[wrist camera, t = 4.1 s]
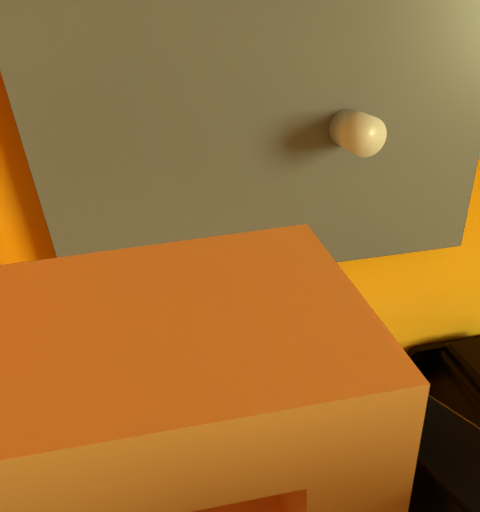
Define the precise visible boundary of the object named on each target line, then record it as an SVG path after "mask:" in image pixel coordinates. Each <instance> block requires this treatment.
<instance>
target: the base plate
mask: <svg viewBox="0 0 480 512" xmlns="http://www.w3.org/2000/svg"><path fill="white" fill-rule="evenodd" d="M0 72H1V75H2V79H3V82H4V85H5V88H6V92H7V95H8V98H9V102H10V105H11V108H12V112H13V115H14V118H15V121H16V125H17V128H18V131H19V135H20V138H21V141H22V144H23V148H24V151H25V154H26V158H27V161H28V164H29V168H30V171H31V174H32V177H33V181H34V184H35V187H36V191H37V194H38V197H39V200H40V204H41V207H42V210H43V214H44V217H45V220H46V224H47V227H48V230H49V233H50V237H51V240H52V243H53V247H54V250H55V253H56V256H57V258H58V257H65V256H72V255H80V254H87V253H95V252H102V251H110V250H117V249H124V248H132V247H139V246H147V245H154V244H162V243H169V242H176V241H184V240H191V239H199V238H206V237H213V236H221V235H228V234H236V233H243V232H251V231H258V230H265V229H273V228H280V227H288V226H295V225H303V224H307V225H308V226H309V227H310V229H311V230H312V231H313V233H314V234H315V235H316V236H317V238H318V239H319V240H320V242H321V243H322V244H323V246H324V247H325V248H326V249H327V251H328V252H329V253H330V255H331V256H332V257H333V259H334V260H335V261H336V262H342V261H350V260H357V259H365V258H372V257H380V256H387V255H395V254H402V253H410V252H417V251H425V250H432V249H440V248H447V247H455V246H461V242H462V237H463V232H464V227H465V222H466V217H467V212H468V207H469V203H470V198H471V193H472V188H473V183H474V178H475V173H476V168H477V163H478V158H479V153H480V0H0Z"/></svg>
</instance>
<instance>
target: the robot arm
mask: <svg viewBox="0 0 480 512" xmlns="http://www.w3.org/2000/svg"><path fill="white" fill-rule="evenodd" d="M407 355H408V356H409V357H410V359H411V360H412V361H413V363H414V364H415V365H416V366H417V368H418V369H419V370H420V372H421V373H422V374H423V376H424V377H425V378H426V379H427V381H428V382H429V383H430V388H429V394H428V400H427V405H426V411H425V417H424V422H423V428H422V434H421V440H420V445H419V451H418V457H417V462H416V468H415V474H414V479H413V485H412V491H411V497H410V502H409V508H408V512H480V336H478V337H472V338H466V339H459V340H453V341H447V342H440V343H434V344H428V345H421V346H416V347H413V348H411V349H410V350H409V351H408V352H407ZM416 355H417V356H416Z"/></svg>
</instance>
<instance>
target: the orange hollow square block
mask: <svg viewBox="0 0 480 512" xmlns="http://www.w3.org/2000/svg"><path fill="white" fill-rule="evenodd" d="M429 388H430V383H429V382H428V381H427V379H426V378H425V377H424V376H423V374H422V373H421V372H420V370H419V369H418V368H417V366H416V365H415V364H414V363H413V361H412V360H411V359H410V357H409V356H408V355H407V353H406V352H405V351H404V350H403V348H402V347H401V346H400V344H399V343H398V342H397V340H396V339H395V338H394V337H393V335H392V334H391V333H390V331H389V330H388V329H387V327H386V326H385V325H384V324H383V322H382V321H381V320H380V318H379V317H378V316H377V314H376V313H375V312H374V311H373V309H372V308H371V307H370V305H369V304H368V303H367V301H366V300H365V299H364V298H363V296H362V295H361V294H360V292H359V291H358V290H357V288H356V287H355V286H354V285H353V283H352V282H351V281H350V279H349V278H348V277H347V275H346V274H345V273H344V272H343V270H342V269H341V268H340V266H339V265H338V264H337V262H336V261H335V260H334V259H333V257H332V256H331V255H330V253H329V252H328V251H327V249H326V248H325V247H324V246H323V244H322V243H321V242H320V240H319V239H318V238H317V236H316V235H315V234H314V233H313V231H312V230H311V229H310V227H309V226H308V225H307V224H303V225H295V226H288V227H280V228H273V229H265V230H258V231H251V232H243V233H236V234H228V235H221V236H213V237H206V238H199V239H191V240H184V241H176V242H169V243H162V244H154V245H147V246H139V247H132V248H124V249H117V250H110V251H102V252H95V253H87V254H80V255H72V256H65V257H58V258H50V259H43V260H35V261H28V262H20V263H13V264H6V265H0V512H408V508H409V502H410V497H411V491H412V485H413V479H414V474H415V468H416V462H417V457H418V451H419V445H420V440H421V434H422V428H423V422H424V417H425V411H426V405H427V400H428V394H429Z"/></svg>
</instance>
